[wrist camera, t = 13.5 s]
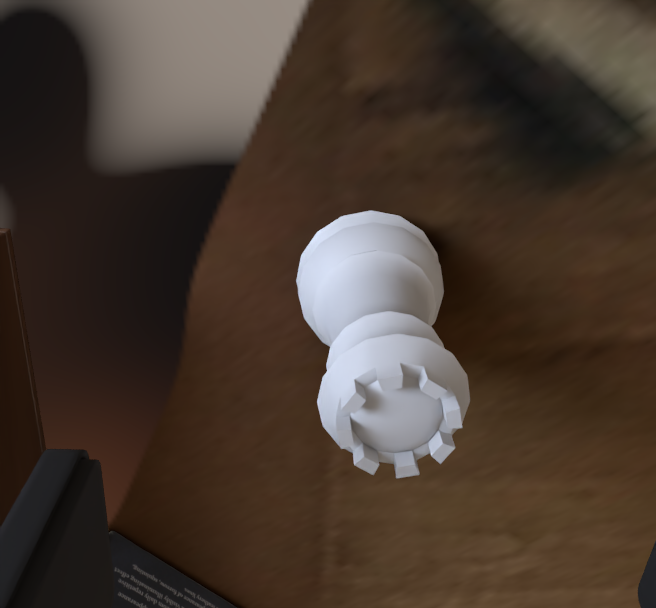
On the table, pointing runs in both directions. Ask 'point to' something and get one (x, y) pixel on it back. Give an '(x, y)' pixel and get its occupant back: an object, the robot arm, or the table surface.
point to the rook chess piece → (382, 341)
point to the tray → (15, 387)
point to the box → (154, 581)
